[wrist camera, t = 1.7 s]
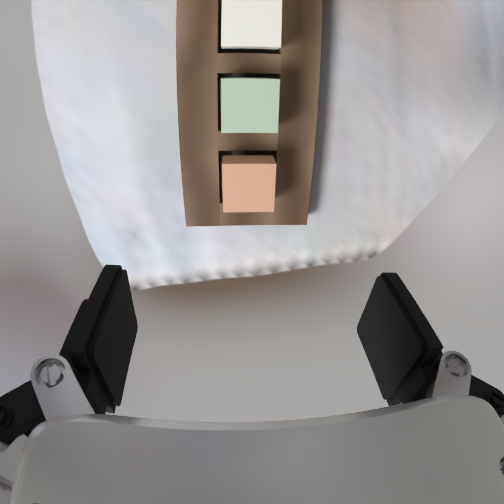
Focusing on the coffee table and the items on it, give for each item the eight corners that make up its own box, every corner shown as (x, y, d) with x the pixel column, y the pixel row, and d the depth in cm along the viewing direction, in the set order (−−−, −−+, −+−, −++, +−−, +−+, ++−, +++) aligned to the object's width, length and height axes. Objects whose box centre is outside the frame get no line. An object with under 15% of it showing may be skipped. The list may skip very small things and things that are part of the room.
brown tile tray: (317, -14, 19) (322, -19, 17) (303, 216, 32) (306, 224, 31) (181, -17, 18) (177, -22, 17) (188, 217, 32) (186, 226, 30)
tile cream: (277, 2, 18) (282, -4, 16) (276, 49, 21) (281, 47, 19) (223, 1, 18) (221, -5, 16) (222, 48, 21) (221, 46, 19)
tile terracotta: (272, 155, 26) (276, 163, 24) (270, 200, 29) (273, 211, 27) (222, 155, 26) (221, 164, 24) (223, 200, 29) (223, 212, 26)
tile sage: (275, 78, 22) (280, 79, 20) (273, 127, 25) (277, 133, 23) (222, 77, 22) (220, 78, 20) (222, 127, 25) (221, 133, 23)
